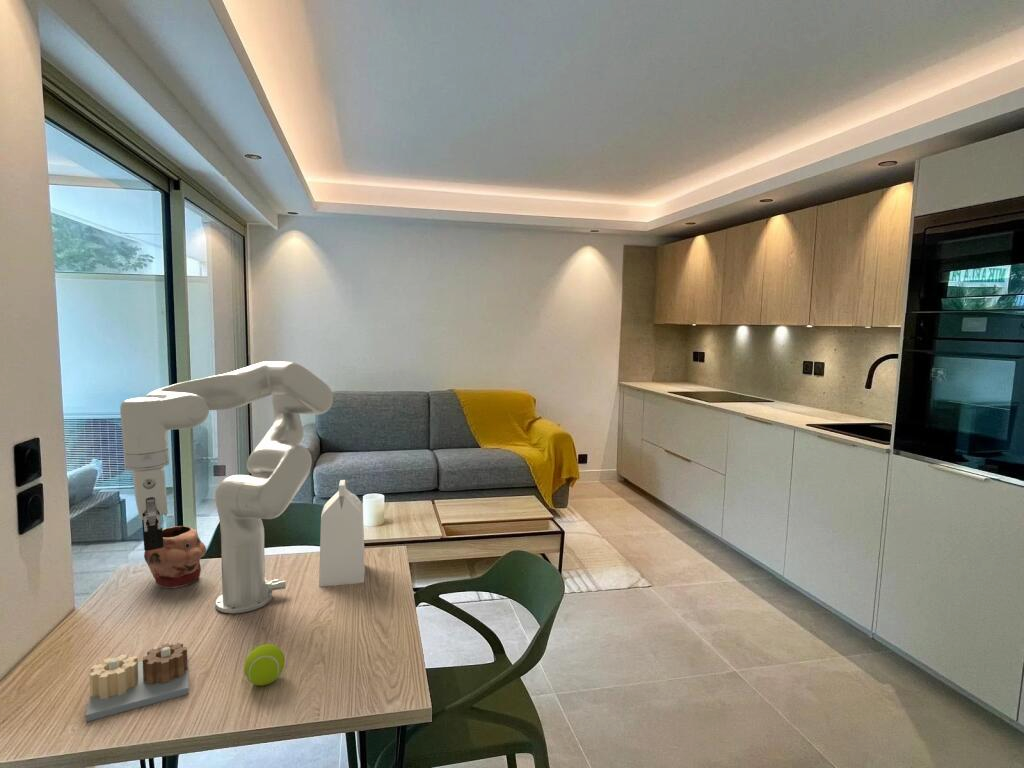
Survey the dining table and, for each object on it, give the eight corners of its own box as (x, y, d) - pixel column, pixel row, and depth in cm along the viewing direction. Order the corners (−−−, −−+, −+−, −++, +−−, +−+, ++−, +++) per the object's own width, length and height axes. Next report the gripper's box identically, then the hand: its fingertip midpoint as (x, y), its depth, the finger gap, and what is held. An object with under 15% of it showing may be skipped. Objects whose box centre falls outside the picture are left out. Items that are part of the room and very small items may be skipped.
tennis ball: (246, 675, 108) (245, 640, 107) (285, 668, 110) (284, 634, 110) (243, 697, 101) (242, 660, 101) (284, 689, 104) (283, 652, 103)
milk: (322, 568, 158) (321, 478, 156) (364, 564, 161) (364, 476, 159) (318, 586, 146) (317, 489, 144) (364, 582, 149) (363, 487, 147)
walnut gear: (187, 658, 111) (186, 639, 110) (187, 677, 105) (187, 657, 104) (144, 669, 107) (143, 649, 107) (142, 689, 101) (141, 668, 101)
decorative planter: (123, 585, 145) (121, 533, 144) (164, 567, 157) (163, 518, 156) (183, 596, 139) (181, 542, 138) (221, 577, 151) (220, 527, 150)
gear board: (187, 656, 114) (186, 627, 113) (188, 693, 102) (187, 662, 101) (96, 678, 106) (94, 647, 105) (85, 721, 94) (84, 688, 93)
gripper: (171, 465, 107) (177, 551, 109) (166, 448, 121) (171, 524, 123) (124, 471, 103) (131, 560, 105) (124, 453, 117) (130, 531, 119)
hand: (153, 540), depth 114 cm, fingers open, 9 cm apart
